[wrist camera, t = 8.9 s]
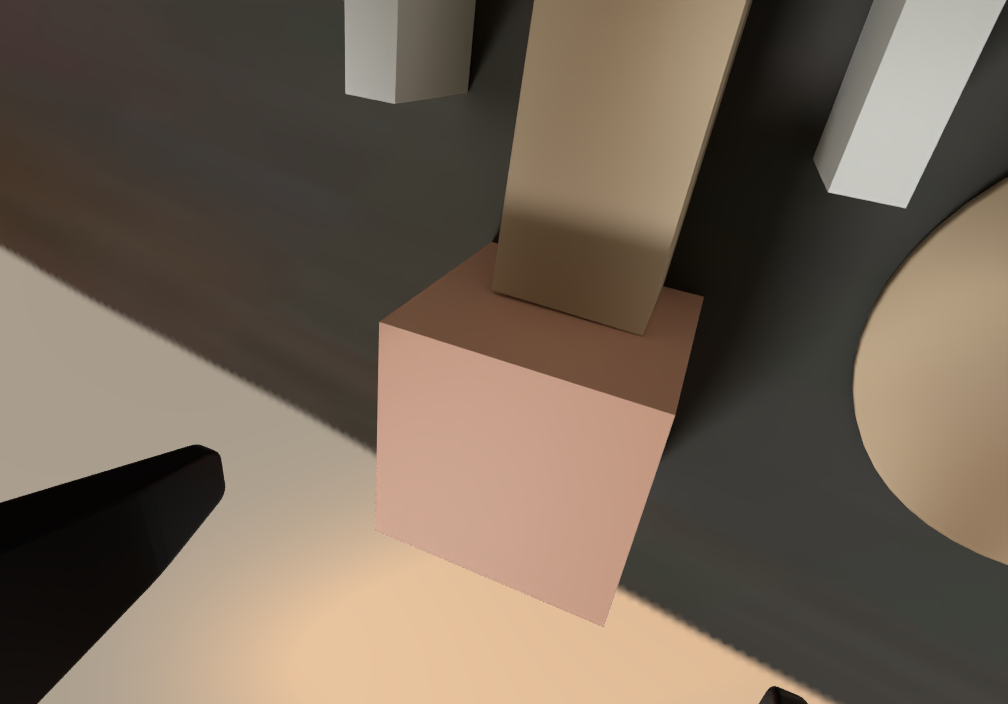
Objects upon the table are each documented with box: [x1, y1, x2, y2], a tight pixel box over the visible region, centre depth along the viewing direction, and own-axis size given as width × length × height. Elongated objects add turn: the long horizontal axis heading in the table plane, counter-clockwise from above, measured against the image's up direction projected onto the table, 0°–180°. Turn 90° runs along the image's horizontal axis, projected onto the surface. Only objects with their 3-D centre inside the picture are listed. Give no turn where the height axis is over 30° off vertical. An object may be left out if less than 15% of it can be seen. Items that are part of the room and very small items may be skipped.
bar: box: [491, 0, 753, 336], centre depth 10 cm, size 3×10×3 cm, turn 171°
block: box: [375, 242, 704, 627], centre depth 13 cm, size 5×5×5 cm
